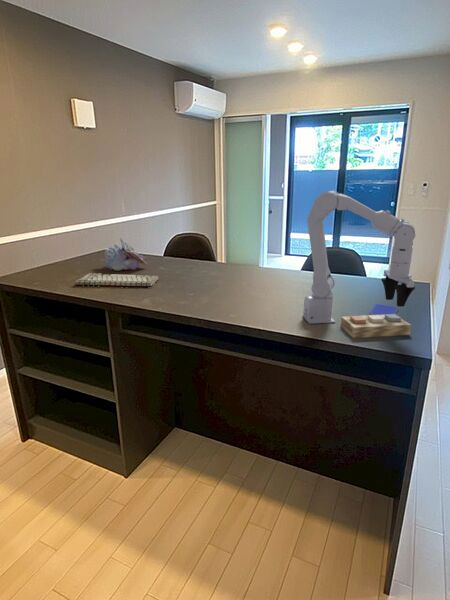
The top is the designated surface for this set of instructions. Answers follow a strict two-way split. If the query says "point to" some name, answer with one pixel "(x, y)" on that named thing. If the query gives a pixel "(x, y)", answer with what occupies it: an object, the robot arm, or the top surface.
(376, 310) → the hard drive
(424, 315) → the top surface
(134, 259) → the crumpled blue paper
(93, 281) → the mechanical keyboard
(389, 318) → the slate key
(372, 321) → the white key
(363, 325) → the key panel
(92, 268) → the top surface
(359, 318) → the terracotta key
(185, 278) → the top surface
